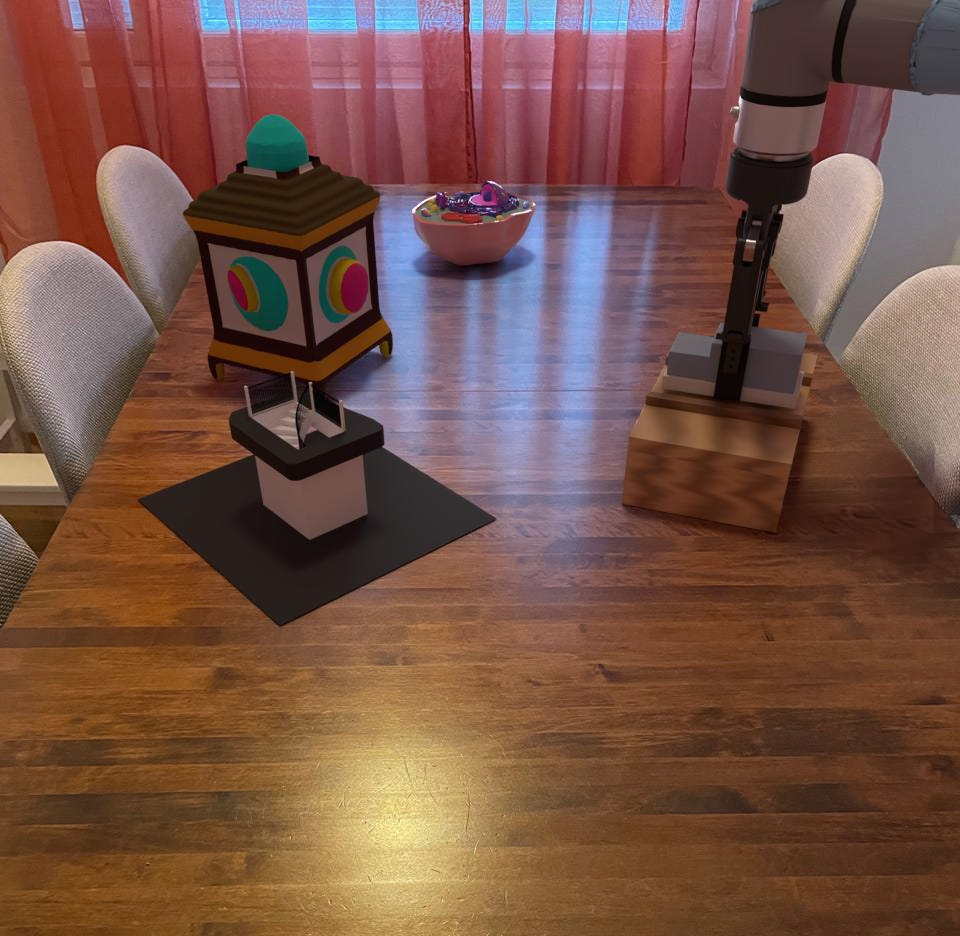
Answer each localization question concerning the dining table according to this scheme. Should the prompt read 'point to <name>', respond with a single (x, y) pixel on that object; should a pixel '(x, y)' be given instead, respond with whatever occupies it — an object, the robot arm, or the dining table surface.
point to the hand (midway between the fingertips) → (731, 384)
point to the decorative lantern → (289, 262)
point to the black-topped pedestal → (310, 504)
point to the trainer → (766, 371)
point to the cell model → (473, 223)
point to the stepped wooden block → (714, 455)
